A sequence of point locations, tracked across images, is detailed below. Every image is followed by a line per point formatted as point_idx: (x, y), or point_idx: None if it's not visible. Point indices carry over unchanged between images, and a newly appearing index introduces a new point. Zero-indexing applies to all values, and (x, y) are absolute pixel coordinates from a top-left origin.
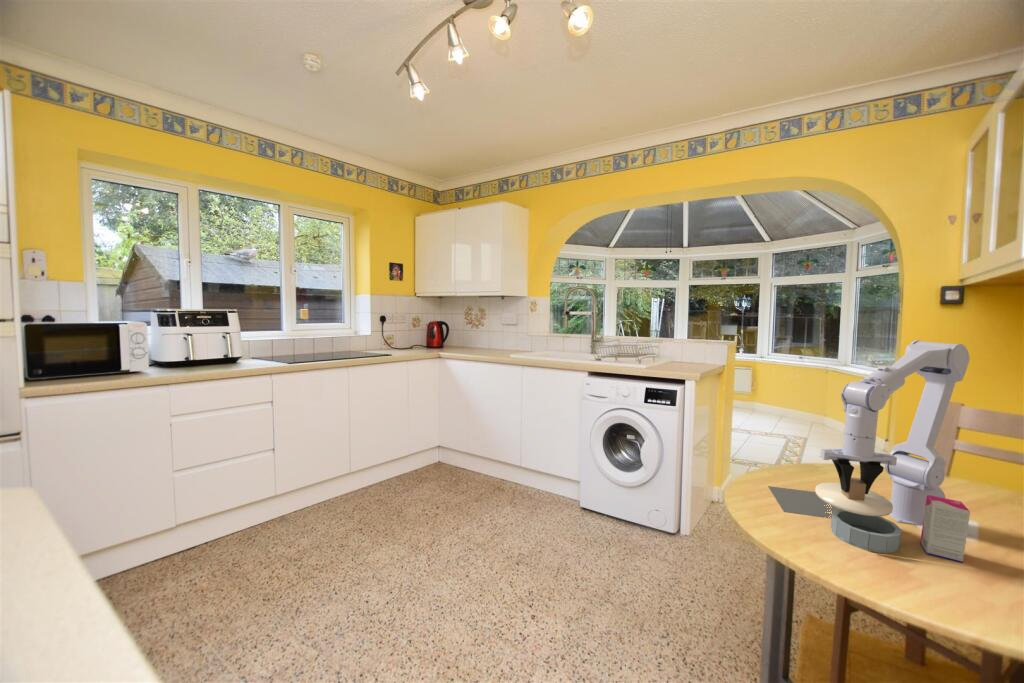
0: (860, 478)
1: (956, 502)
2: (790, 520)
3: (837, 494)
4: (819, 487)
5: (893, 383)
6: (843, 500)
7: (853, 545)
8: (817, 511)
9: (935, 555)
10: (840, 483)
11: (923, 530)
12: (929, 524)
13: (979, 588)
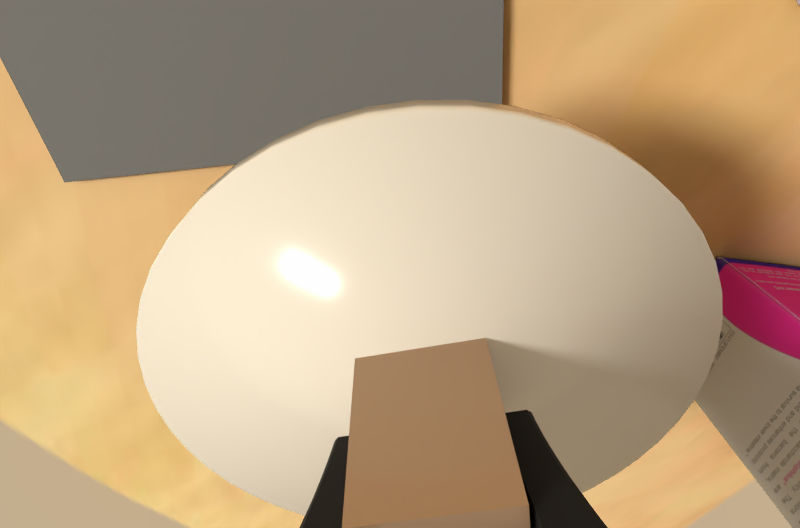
0: (540, 525)
1: None
2: (126, 264)
3: (315, 400)
4: (170, 329)
5: None
6: None
7: None
8: (265, 73)
9: None
10: (320, 479)
11: (755, 343)
12: (764, 463)
13: (681, 474)
